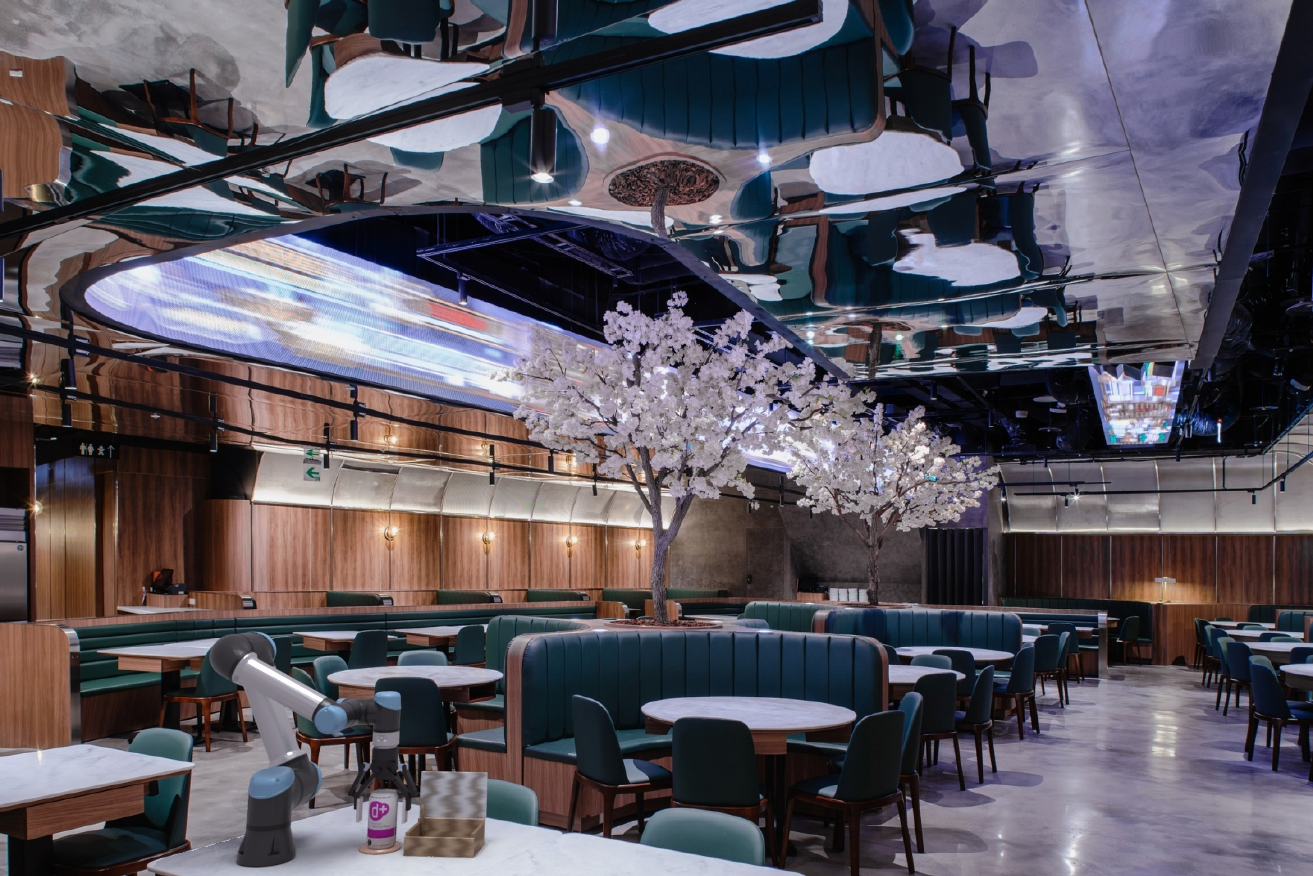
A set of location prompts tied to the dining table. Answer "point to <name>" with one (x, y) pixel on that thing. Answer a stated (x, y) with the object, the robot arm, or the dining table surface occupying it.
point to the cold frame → (449, 815)
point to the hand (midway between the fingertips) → (381, 822)
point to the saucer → (367, 850)
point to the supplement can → (382, 819)
